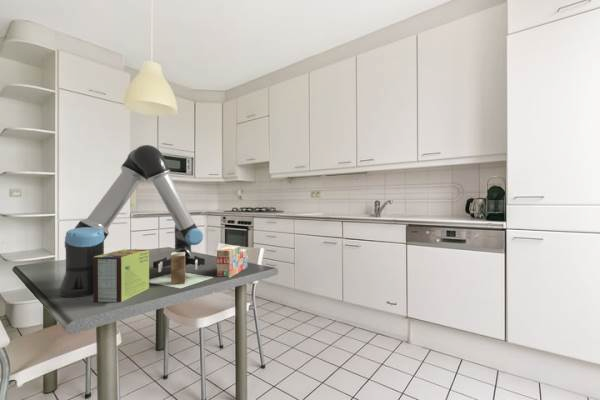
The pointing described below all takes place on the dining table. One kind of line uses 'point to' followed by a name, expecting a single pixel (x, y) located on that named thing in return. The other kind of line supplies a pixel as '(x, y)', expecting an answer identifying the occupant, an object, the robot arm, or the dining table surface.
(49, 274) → the dining table surface
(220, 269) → the multicolored rectangular box
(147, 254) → the protein box
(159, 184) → the robot arm
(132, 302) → the dining table surface
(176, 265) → the walnut block
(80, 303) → the dining table surface
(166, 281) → the sage board
